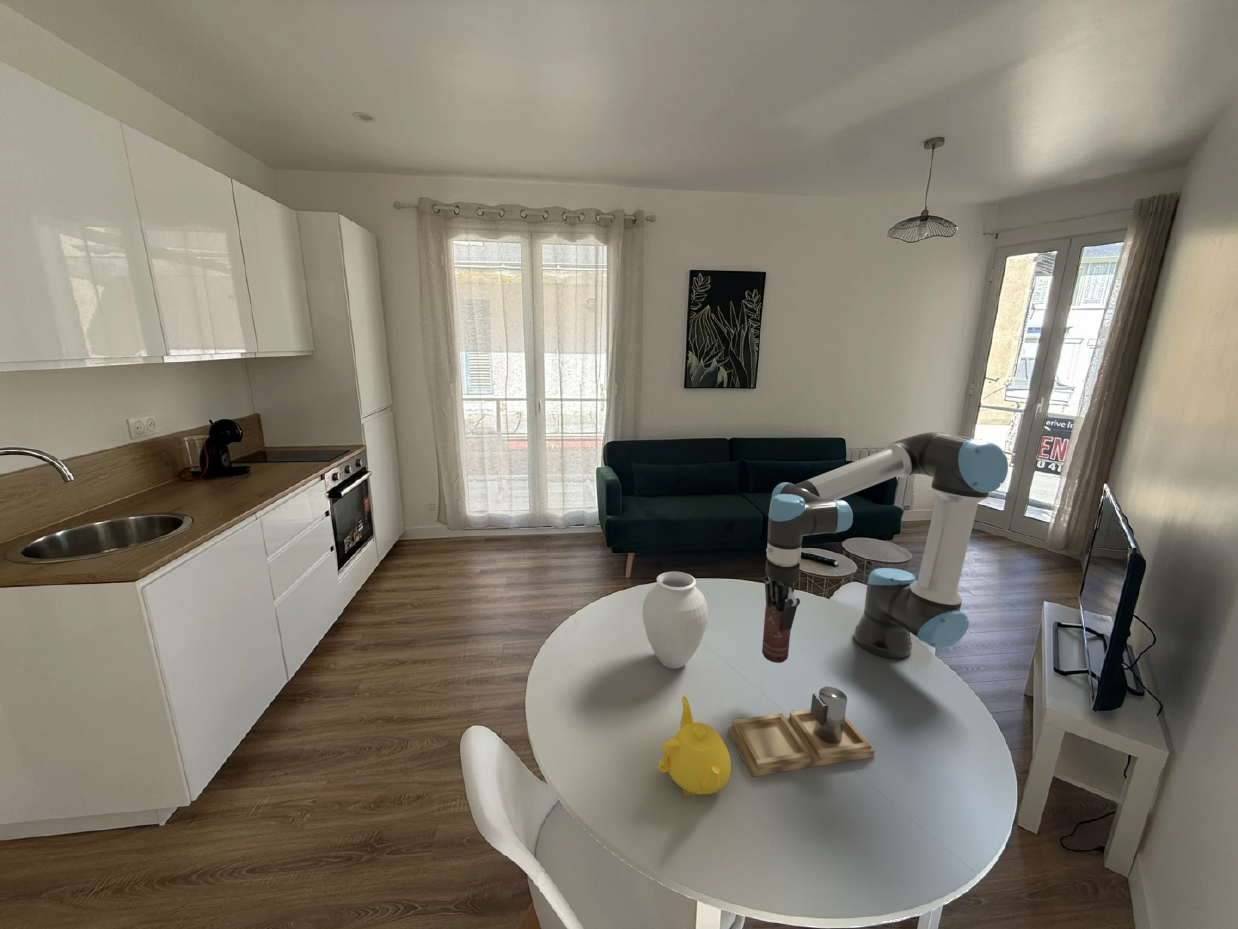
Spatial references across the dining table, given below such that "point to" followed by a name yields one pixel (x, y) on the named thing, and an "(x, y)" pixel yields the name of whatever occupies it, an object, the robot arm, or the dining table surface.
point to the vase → (675, 618)
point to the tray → (793, 743)
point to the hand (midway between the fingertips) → (776, 648)
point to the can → (774, 636)
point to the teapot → (696, 757)
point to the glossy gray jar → (829, 714)
